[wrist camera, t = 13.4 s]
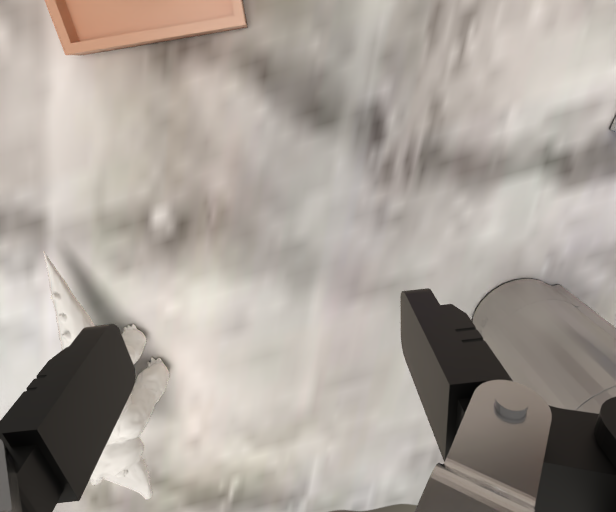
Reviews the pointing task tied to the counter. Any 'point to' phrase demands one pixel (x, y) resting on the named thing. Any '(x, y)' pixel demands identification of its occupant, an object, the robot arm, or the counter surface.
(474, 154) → the counter surface
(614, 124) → the medicine box
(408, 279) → the counter surface
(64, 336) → the white dinosaur figurine
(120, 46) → the tray
